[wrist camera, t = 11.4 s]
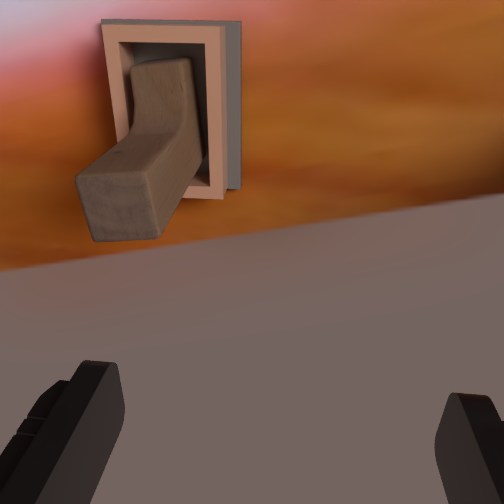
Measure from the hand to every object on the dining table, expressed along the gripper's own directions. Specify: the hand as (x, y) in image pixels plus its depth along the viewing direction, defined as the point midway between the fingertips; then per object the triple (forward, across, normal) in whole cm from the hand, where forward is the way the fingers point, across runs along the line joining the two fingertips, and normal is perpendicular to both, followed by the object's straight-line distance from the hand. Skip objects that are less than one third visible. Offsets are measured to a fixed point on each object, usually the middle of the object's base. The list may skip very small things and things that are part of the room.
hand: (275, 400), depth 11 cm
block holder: (+34, +11, 0) cm, 36 cm away
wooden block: (+34, +11, 0) cm, 35 cm away
